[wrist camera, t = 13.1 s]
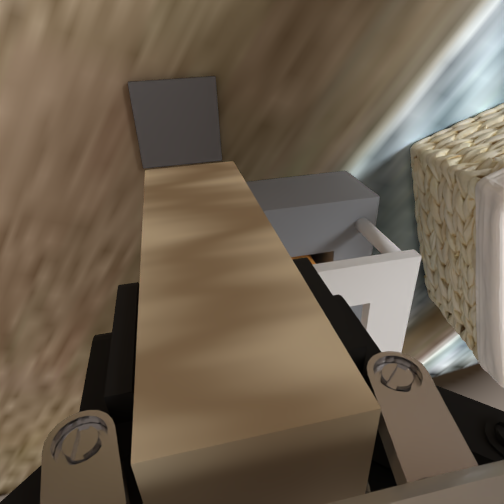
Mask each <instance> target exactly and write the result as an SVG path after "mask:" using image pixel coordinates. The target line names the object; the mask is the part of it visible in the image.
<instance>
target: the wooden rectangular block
mask: <svg viewBox="0 0 504 504" xmlns="http://www.w3.org/2000/svg"><path fill="white" fill-rule="evenodd" d="M380 413H381V407H380V405H379V403H378V402H377V400H376V398H375V397H374V395H373V393H372V392H371V390H370V388H369V387H368V385H367V383H366V382H365V380H364V378H363V377H362V375H361V373H360V372H359V370H358V368H357V367H356V365H355V363H354V362H353V360H352V358H351V357H350V355H349V353H348V352H347V350H346V348H345V347H344V345H343V343H342V342H341V340H340V338H339V337H338V335H337V333H336V332H335V330H334V328H333V327H332V325H331V323H330V322H329V320H328V318H327V317H326V315H325V313H324V312H323V310H322V308H321V307H320V305H319V303H318V302H317V300H316V298H315V297H314V295H313V293H312V292H311V290H310V288H309V287H308V285H307V283H306V282H305V280H304V278H303V277H302V275H301V273H300V272H299V270H298V268H297V267H296V265H295V263H294V262H293V260H292V258H291V257H290V255H289V253H288V252H287V250H286V248H285V247H284V245H283V243H282V242H281V240H280V238H279V237H278V235H277V233H276V232H275V230H274V228H273V227H272V225H271V223H270V222H269V220H268V218H267V217H266V215H265V213H264V212H263V210H262V208H261V207H260V205H259V203H258V202H257V200H256V198H255V197H254V195H253V193H252V192H251V190H250V188H249V187H248V185H247V183H246V182H245V180H244V178H243V177H242V175H241V173H240V172H239V170H238V168H237V167H236V165H235V163H234V162H233V161H228V162H218V163H209V164H199V165H189V166H179V167H170V168H160V169H150V170H145V180H144V201H143V222H142V242H141V263H140V283H139V304H138V324H137V345H136V365H135V386H134V407H133V427H132V448H131V467H132V470H133V473H134V476H135V479H136V482H137V485H138V488H139V491H140V494H141V498H142V501H143V504H328V503H332V502H335V501H339V500H343V499H347V498H351V497H355V496H359V495H363V494H365V492H366V486H367V481H368V476H369V471H370V465H371V460H372V455H373V450H374V444H375V439H376V434H377V429H378V423H379V418H380Z"/></svg>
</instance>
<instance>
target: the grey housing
mask: <svg viewBox="0 0 504 504" xmlns="http://www.w3.org/2000/svg"><path fill="white" fill-rule="evenodd" d="M246 183H247V185H248V187H249V188H250V190H251V192H252V193H253V195H254V197H255V198H256V200H257V202H258V203H259V205H260V207H261V208H262V210H263V212H264V213H265V215H266V217H267V218H268V220H269V222H270V223H271V225H272V227H273V228H274V230H275V232H276V233H277V235H278V237H279V238H280V240H281V242H282V243H283V245H284V247H285V248H286V250H287V252H288V253H289V255H290V257H297V256H304V255H310V256H311V257H312V259H313V260H314V262H315V263H316V264H312V265H313V266H314V268H315V269H316V271H317V272H318V274H319V275H320V277H321V278H322V280H323V281H324V283H325V284H326V286H327V287H328V289H329V290H330V292H331V293H332V295H338V294H339V295H341V296H342V297H343V298H344V299H345V301H346V302H347V303H348V305H349V306H350V308H351V309H352V311H353V312H354V313H355V315H356V316H357V318H358V319H359V321H360V322H361V323H362V325H363V326H364V328H365V329H366V331H367V332H368V333H369V335H370V336H371V338H372V339H373V341H374V342H375V343H376V345H377V346H378V348H379V349H380V351H381V352H386V351H394V352H400V353H401V352H402V347H403V342H404V338H405V333H406V328H407V323H408V319H409V314H410V309H411V304H412V300H413V295H414V290H415V285H416V281H417V276H418V271H419V267H420V262H421V257H422V256H421V255H420V254H419V253H418V252H417V251H415V250H414V249H412V250H405V251H401V250H400V249H399V248H398V247H397V246H396V245H395V244H394V243H393V242H391V241H390V240H389V239H388V238H387V237H386V236H385V235H384V234H383V233H382V232H381V231H379V230H378V229H377V228H376V221H377V214H378V207H379V199H380V196H379V195H377V194H376V193H375V192H373V191H372V190H371V189H369V188H368V187H367V186H365V185H364V184H363V183H362V182H360V181H359V180H358V179H356V178H355V177H354V176H352V175H351V174H350V173H348V172H347V171H339V172H330V173H321V174H312V175H303V176H294V177H285V178H276V179H267V180H258V181H249V182H246ZM373 246H374V247H375V248H376V249H377V250H378V251H379V252H380V253H381V254H379V255H372V251H373Z"/></svg>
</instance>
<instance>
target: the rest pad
mask: <svg viewBox="0 0 504 504" xmlns="http://www.w3.org/2000/svg"><path fill="white" fill-rule="evenodd" d="M128 87H129V93H130V98H131V104H132V109H133V115H134V120H135V126H136V131H137V137H138V142H139V148H140V153H141V159H142V164H143V169H144V168H154V167H163V166H173V165H183V164H193V163H203V162H213V161H222V154H221V141H220V128H219V115H218V102H217V89H216V77H215V76H208V77H193V78H178V79H163V80H147V81H132V82H128Z"/></svg>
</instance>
